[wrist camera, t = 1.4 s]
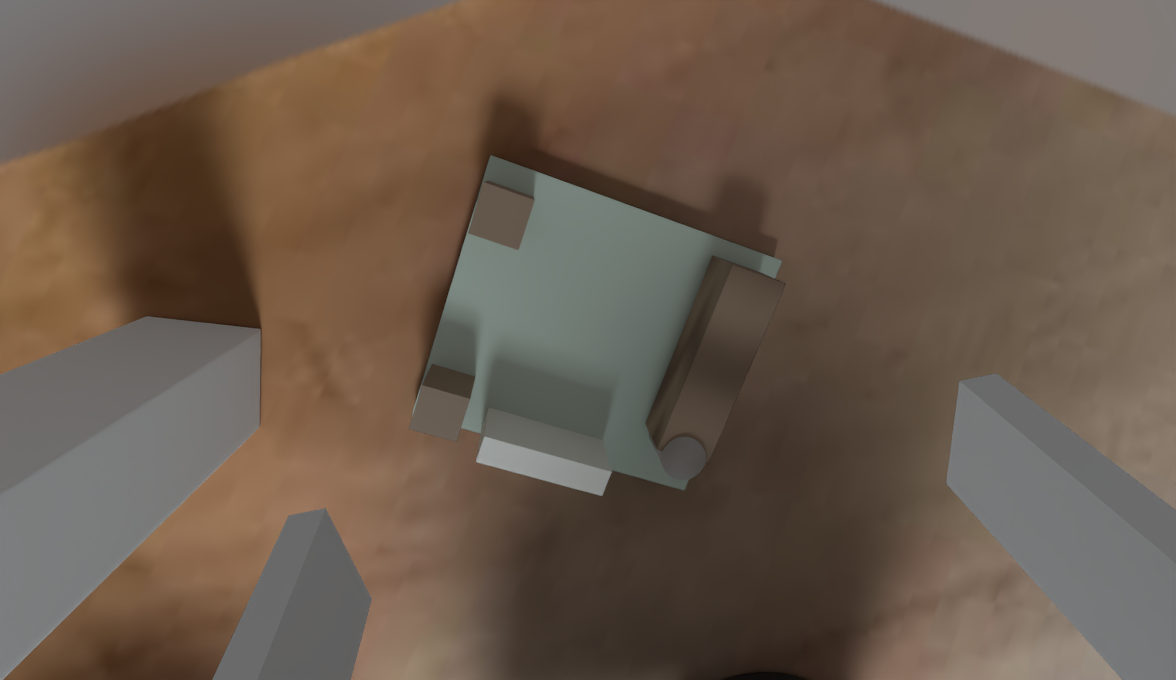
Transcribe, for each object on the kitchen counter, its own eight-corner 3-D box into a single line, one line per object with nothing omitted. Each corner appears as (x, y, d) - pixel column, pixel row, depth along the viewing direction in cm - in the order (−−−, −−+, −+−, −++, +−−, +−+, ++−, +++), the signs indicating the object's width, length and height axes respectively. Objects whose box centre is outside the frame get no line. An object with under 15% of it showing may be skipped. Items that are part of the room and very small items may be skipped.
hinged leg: (684, 455, 37) (701, 486, 34) (638, 441, 37) (650, 471, 33) (760, 272, 35) (788, 284, 31) (712, 255, 34) (734, 265, 31)
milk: (150, 416, 35) (-421, 797, 14) (146, 313, 34) (-504, 567, 13) (263, 427, 36) (-118, 804, 15) (264, 326, 34) (-161, 587, 13)
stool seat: (774, 257, 36) (814, 272, 31) (679, 480, 39) (702, 526, 34) (491, 155, 33) (485, 153, 28) (415, 406, 36) (398, 444, 31)
